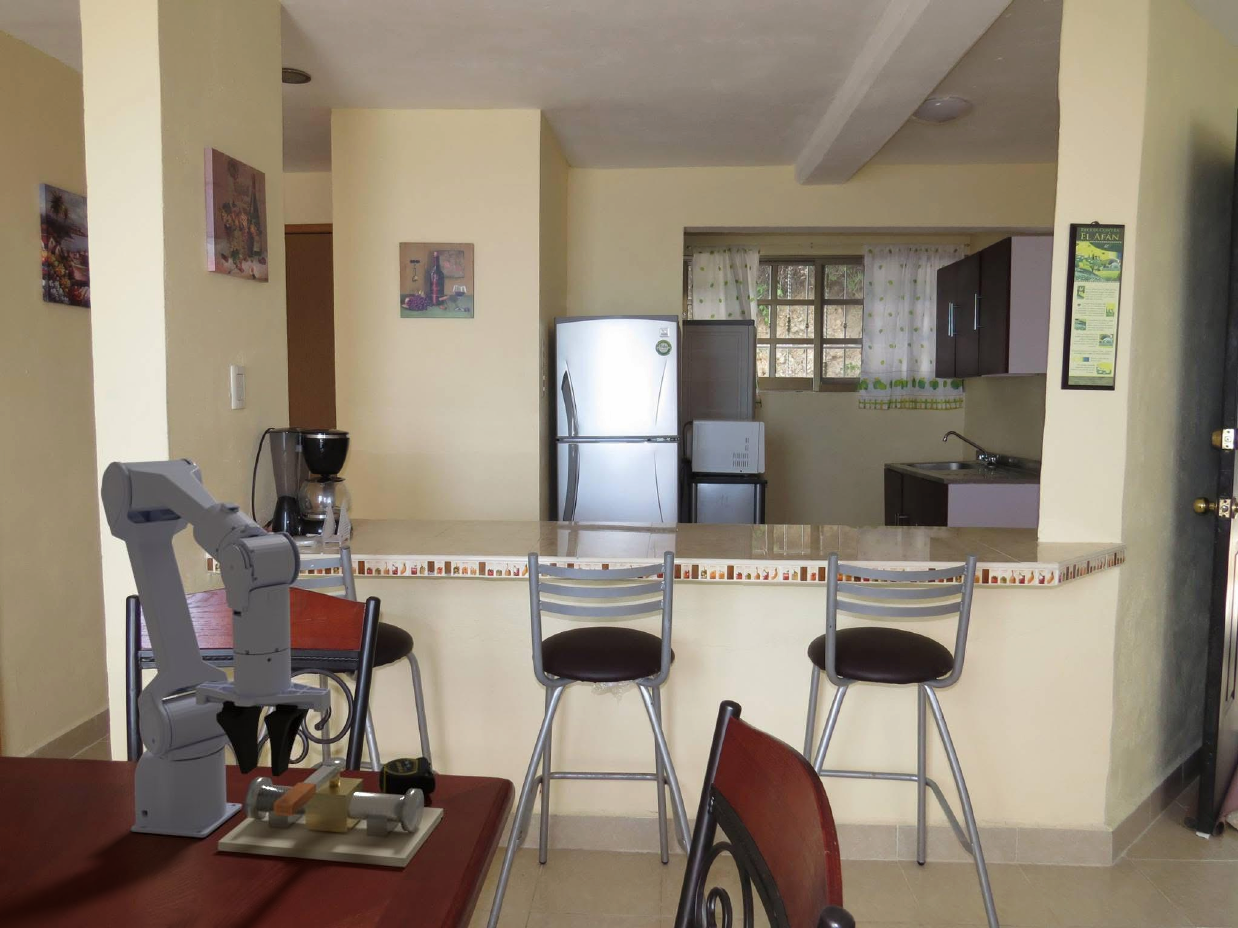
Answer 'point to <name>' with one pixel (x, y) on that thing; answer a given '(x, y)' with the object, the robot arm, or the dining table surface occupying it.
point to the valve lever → (308, 787)
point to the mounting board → (331, 841)
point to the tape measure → (406, 776)
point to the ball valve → (339, 807)
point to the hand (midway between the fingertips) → (264, 771)
